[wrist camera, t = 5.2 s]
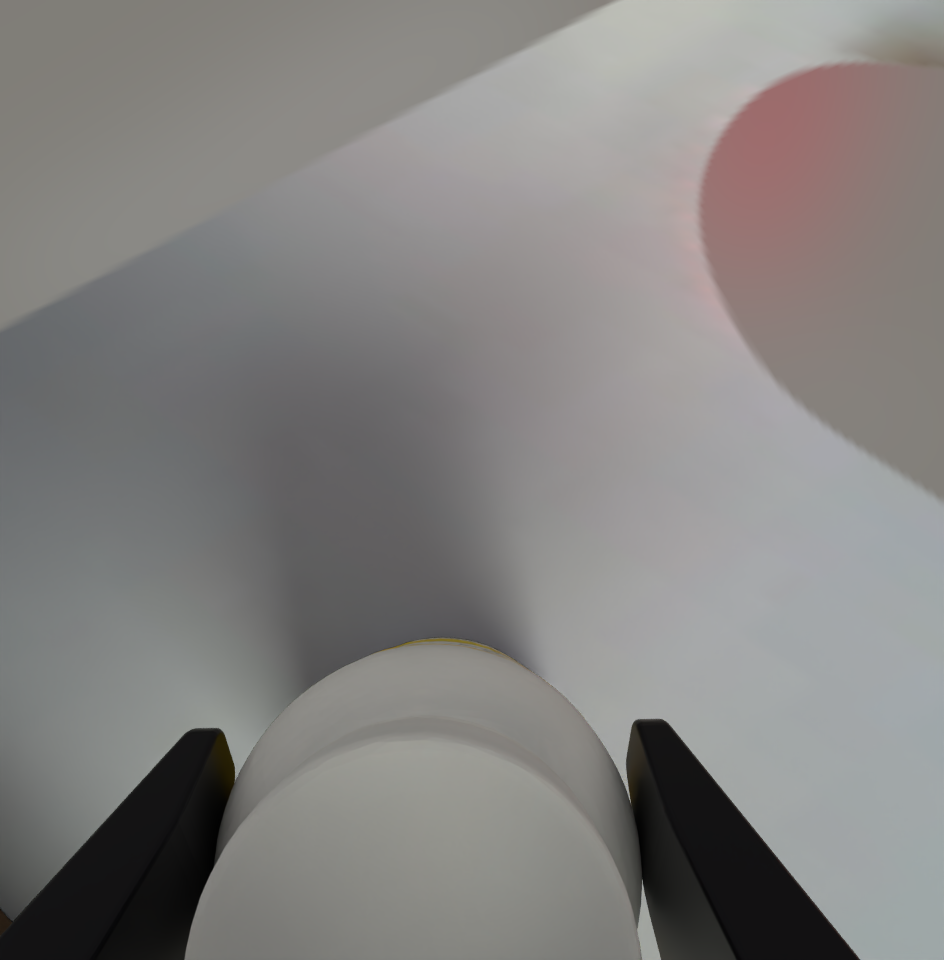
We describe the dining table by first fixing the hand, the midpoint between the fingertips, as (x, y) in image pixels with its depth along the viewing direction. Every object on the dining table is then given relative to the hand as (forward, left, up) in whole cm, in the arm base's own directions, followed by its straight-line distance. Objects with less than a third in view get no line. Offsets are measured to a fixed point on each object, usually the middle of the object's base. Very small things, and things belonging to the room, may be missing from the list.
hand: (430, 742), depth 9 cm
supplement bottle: (-1, -1, -7) cm, 7 cm away
